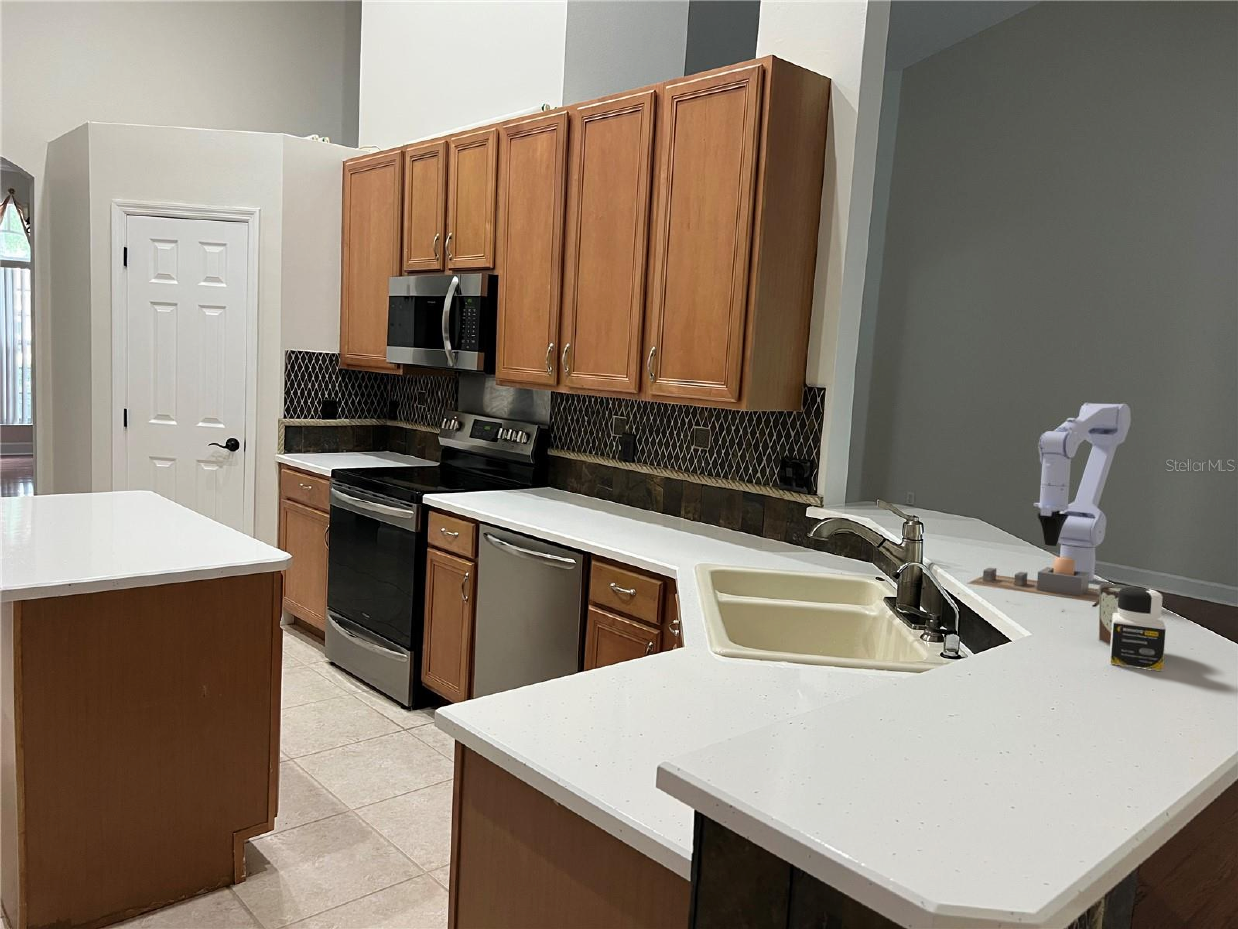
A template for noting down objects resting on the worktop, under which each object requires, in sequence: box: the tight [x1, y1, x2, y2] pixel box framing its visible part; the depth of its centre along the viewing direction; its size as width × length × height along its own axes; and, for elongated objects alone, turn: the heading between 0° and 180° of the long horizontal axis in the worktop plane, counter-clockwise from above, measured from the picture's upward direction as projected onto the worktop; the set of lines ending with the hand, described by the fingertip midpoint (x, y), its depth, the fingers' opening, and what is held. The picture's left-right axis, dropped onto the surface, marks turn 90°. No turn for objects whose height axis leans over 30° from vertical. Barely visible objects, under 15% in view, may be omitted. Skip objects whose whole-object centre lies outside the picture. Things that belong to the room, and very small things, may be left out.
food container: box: [1098, 582, 1132, 647], centre depth 154 cm, size 12×6×10 cm, turn 179°
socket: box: [1036, 566, 1090, 596], centre depth 198 cm, size 9×9×4 cm
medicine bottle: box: [1109, 586, 1167, 672], centre depth 144 cm, size 7×7×12 cm
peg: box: [1053, 556, 1075, 576], centre depth 198 cm, size 4×4×7 cm
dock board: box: [966, 567, 1100, 608], centre depth 201 cm, size 16×26×4 cm, turn 52°
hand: (1050, 545), depth 204 cm, fingers closed
